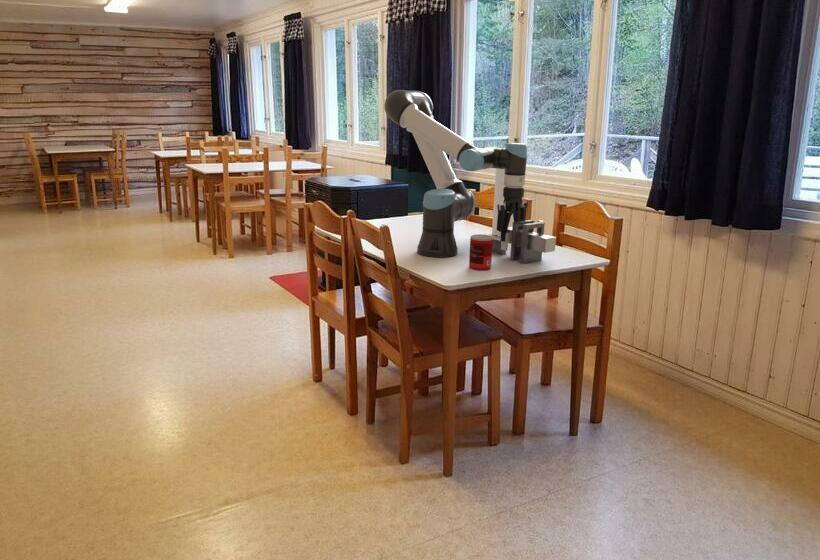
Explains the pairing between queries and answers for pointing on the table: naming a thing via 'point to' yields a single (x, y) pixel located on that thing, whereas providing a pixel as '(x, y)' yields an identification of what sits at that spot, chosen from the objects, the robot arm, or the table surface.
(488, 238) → the canned food
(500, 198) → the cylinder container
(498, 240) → the stand
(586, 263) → the table surface
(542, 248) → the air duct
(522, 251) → the collar stand
